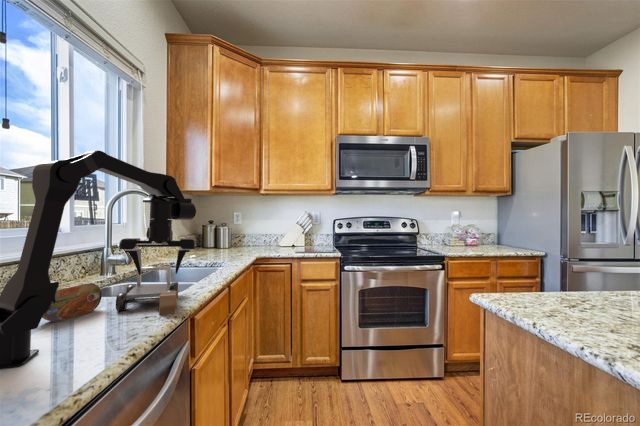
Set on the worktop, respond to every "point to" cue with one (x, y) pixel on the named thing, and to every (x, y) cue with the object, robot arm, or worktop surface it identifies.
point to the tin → (73, 302)
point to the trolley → (145, 290)
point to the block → (168, 303)
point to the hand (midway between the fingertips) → (158, 274)
